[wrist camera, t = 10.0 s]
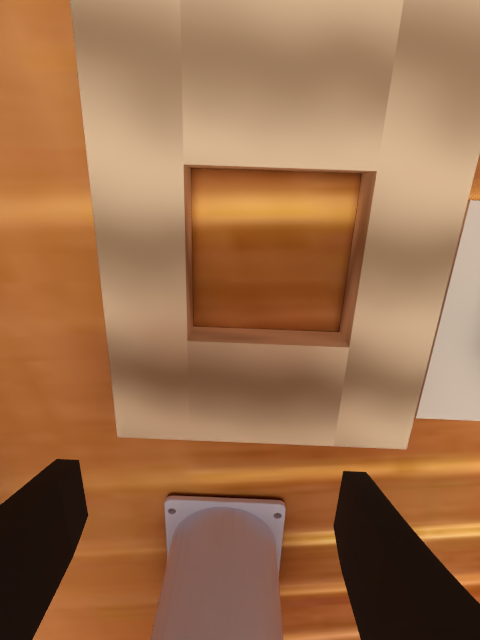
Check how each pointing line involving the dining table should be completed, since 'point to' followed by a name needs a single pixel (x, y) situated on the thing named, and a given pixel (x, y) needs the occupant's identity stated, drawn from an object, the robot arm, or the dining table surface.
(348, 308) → the pocket board
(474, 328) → the felt pad
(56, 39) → the dining table surface
